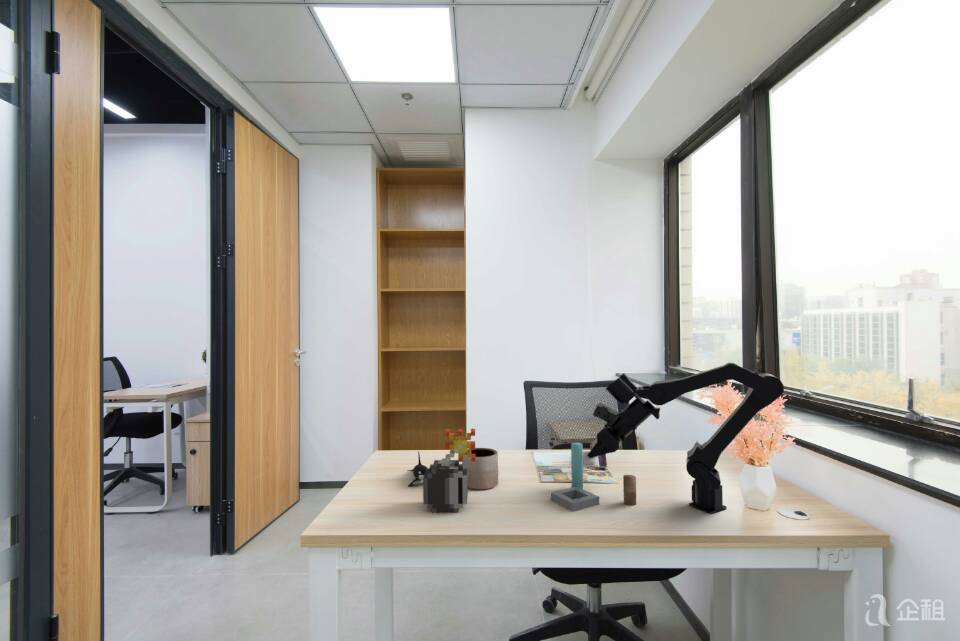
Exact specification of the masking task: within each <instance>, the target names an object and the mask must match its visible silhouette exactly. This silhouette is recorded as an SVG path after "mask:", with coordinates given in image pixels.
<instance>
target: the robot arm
mask: <svg viewBox="0 0 960 641" xmlns="http://www.w3.org/2000/svg"><path fill="white" fill-rule="evenodd" d="M731 380H733V381H735V382H737V383H740V384H742V385H743V386H745V387H748V389H747V391H746V393H745V396H744V398H743V399H742V401H741V403H739V404H738V406H737V407H736V408H735V409H734V411H733V412H731V414H729V416H728V417H727V418H726V420H725V421H724V422H723V423H722V424H721V425H720V426H719V427H718V428H717V430H716V431H715V432H714V433H713V434H712V435H711V437H710V438H708V440H707V441H705V442H703V443H702V444H700V442H699V441H696V442H695V443H694V445H693V447H692V448H691V449H690V450H687V451H686V462H685V464H686V465H685V466H686V467H685V468H686V472H687V473H688V475H689V476H690V477H691V478H693V480H692V485H691V501H690V502H689V503H688V505H689V506H690V507H694V508H696V509H699V510H700V511H703V512H706V513H709V514H714V513H716V512H720V511H723V510H726V509H727V505H723V501H724V500H723V484H721V477H720V471H718V470H717V469H716V466H717V464H718V462H719V459H720V457H721V454H722V453H723V452H724V451H725V449H727V447H728V446H730V444H731V443H732V442H733V440H735V438H736V437H737V436H738V435H739V434H741V433H740V432H742V431H743V429H745V427H746V426H747V425H748V424H749V422H751V420H752V419H753V418H754V417H755V416H756V415H757V413H759V412H760V411H761V410H763V409H765V408H766V407H768V406H770V405H771V404H772V403H774V402H775V401H776V400H778V399H779V398H780V397H782V395H783V393H784V391H785V387H784V383H783V381H781V380H780V379H779V378H778V377H777V376H775V375H773V374H770V373H758V372H755V371H753V370H750V369H748V368H745V367H743V366H740V365H738V364H737V363H735V362H727V363H725V364H723V365H720V366H717V367H713V368H711V369H708V370H704V371H701V372H697V373H694V374H692V375H688V376H684V377H681V378H673V379H665V380H657V381H654V382H652V383H651V384H650V385H644V386H643V385H640V386H637V385H636V384H635V383H634V382H633V381H632V380H631V379H630V378H629V376H628V375H627V374H626V373H624V372H623V373H622V374H621V375H619V377H618V378H616V379H615V380H613V381H612V382H611V383H610V384H609V385H607V387H606V388H605V390H606V392H608V393H609V395H610V396H611V397H613V398H614V400H616V402H617V403H618V404H625V405H627V404H628V403H629V402H630V401H631V400H632V399H633V398H635V399H634V400H633V401H632V402H631V403H629V405H627V406H626V407H625V408H624V409H620V410H619V411H616V410H615V409H613V408H612V407H609V406H607V405H605V404H604V403H602V402H599V403H598V404H597V405H596V406H595V409H594V410H593V413H592V415H593V417H596V418H599V419H600V420H602V421H604V422H606V423H605V424H604V427H602V429H600V430H599V431H598V432H597V434H596V438H597V443H596V444H595V446H594V447H593V448H592V450H590V451H589V452H588V454H587V457H588V458H589V459H592V458H596V457H598V456H600V455H604V454H606V455H607V454H611V453H612V454H613V453H615V452H616V451H617V450H619V449H620V447H621V446H622V442H623V441H625V440H626V438H627V437H628V436H629V435H630V434H631V433H632V432H636V430H637V429H638V427H639V426H640V425H641V424H642V423H644V422H645V421H646V420H647V419H648V418H650V417H651V416H653V417H654V418H655V419H656V420H659V419H660V415H661V414H660V411H661V407H655V406H664V405H666V404H668V403H670V402H672V401H674V400H676V399H678V398H679V397H682V395H683V396H684V394H687V393H690V392H693V391H698V390H701V389H703V388H706V387H710V386H714V385H717V384H720V383H724V382H728V381H731ZM645 399H646V400H645ZM654 405H655V406H654Z"/></svg>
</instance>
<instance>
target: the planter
mask: <svg viewBox="0 0 960 641" xmlns="http://www.w3.org/2000/svg"><path fill="white" fill-rule="evenodd" d="M467 450H471V454H475V462H471V457H467V453H463V462H461V464H463V468H467V477H468V489H469V490H473V491H484V490H485V491H486V490H491V489H494V488H495V487H496V486H498V484H499V453H498V450H496V449H492V448H489V447H475V449H467Z"/></svg>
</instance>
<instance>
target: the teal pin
mask: <svg viewBox="0 0 960 641" xmlns="http://www.w3.org/2000/svg"><path fill="white" fill-rule="evenodd" d="M570 449H571V450H570V451H571V452H570V454H571V455H570V456H571V458H570V460H571V461H570V462H571V470H570V471H571V488H572V487H576V486H577V487H579V488H581V489H583V490H584V468H583V467H584V465H583V463H584V462H583V461H584V457H583V450H584V448H583V443H581V442H571V443H570Z"/></svg>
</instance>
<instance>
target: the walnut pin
mask: <svg viewBox="0 0 960 641" xmlns="http://www.w3.org/2000/svg"><path fill="white" fill-rule="evenodd" d="M622 477H623V478H622V479H623V480H622V481H623V482H622V483H623V489H622V490H623V491H622V492H623V504H624V505H626V506H631V507H633V506H636V505H637V477H636V476H635V475H633V474H624V475H623V476H622Z"/></svg>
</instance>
